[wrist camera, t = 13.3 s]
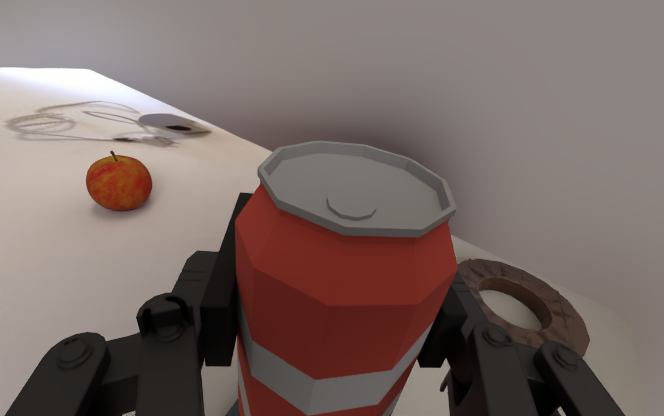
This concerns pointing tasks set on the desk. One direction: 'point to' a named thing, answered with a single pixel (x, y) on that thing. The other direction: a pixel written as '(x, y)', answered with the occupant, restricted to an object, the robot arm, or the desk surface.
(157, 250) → the desk surface
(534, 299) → the socket
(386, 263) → the beverage can
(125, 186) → the fruit
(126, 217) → the desk surface
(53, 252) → the desk surface
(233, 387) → the desk surface
